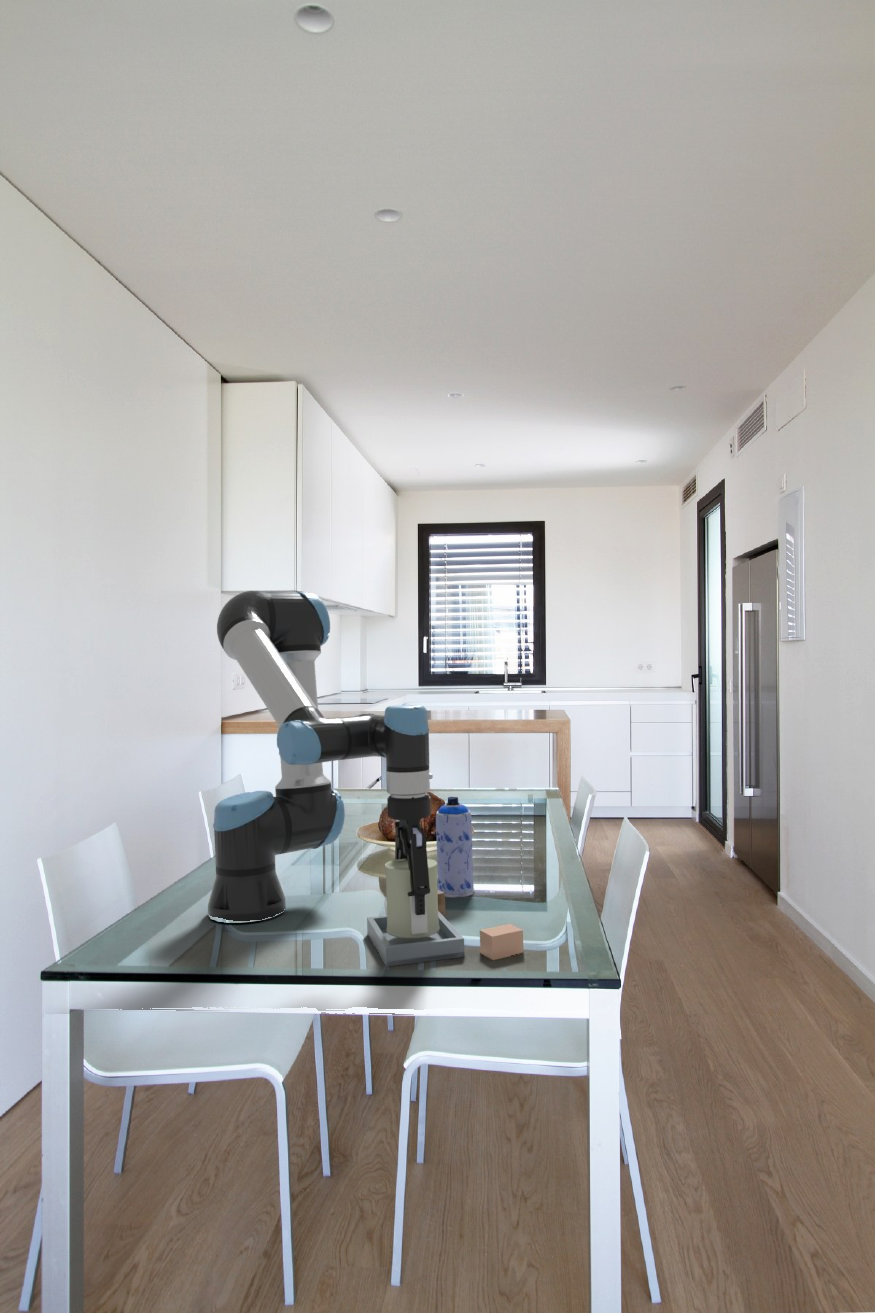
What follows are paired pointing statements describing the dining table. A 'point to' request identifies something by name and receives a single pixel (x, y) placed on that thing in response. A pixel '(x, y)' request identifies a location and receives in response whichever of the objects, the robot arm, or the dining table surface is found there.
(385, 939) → the tray
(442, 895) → the walnut block
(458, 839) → the aerosol can
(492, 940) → the soap block
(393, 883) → the can
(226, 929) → the dining table surface
